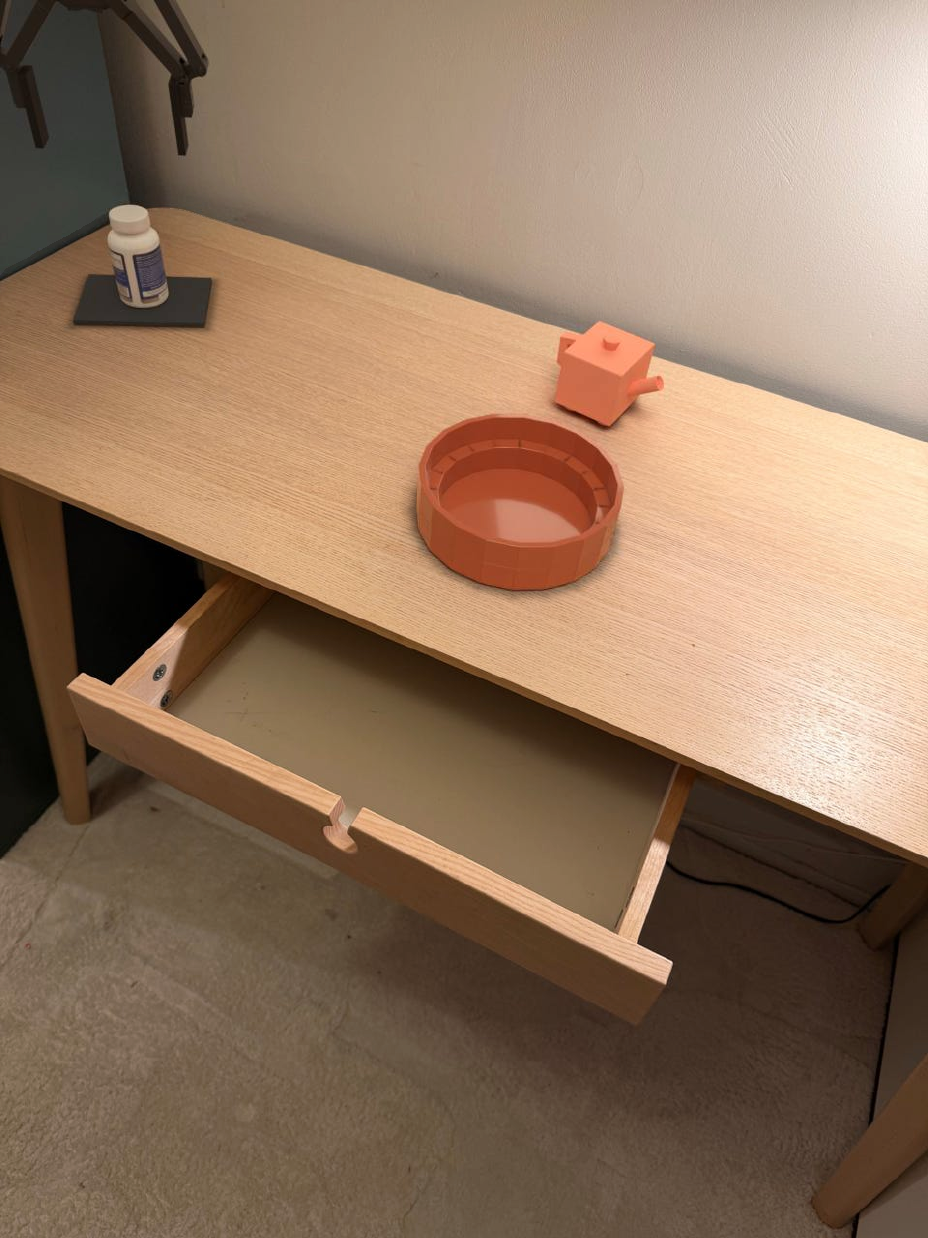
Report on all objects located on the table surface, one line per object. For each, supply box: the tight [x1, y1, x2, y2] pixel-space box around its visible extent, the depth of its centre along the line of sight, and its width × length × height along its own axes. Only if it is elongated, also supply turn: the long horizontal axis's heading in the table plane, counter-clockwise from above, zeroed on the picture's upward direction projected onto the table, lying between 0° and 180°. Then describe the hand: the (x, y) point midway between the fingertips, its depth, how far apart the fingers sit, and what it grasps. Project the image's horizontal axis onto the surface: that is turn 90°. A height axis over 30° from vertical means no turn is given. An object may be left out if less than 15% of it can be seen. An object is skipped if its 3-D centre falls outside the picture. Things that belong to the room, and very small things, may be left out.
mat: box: [72, 273, 213, 328], centre depth 104 cm, size 14×10×1 cm
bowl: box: [415, 413, 625, 591], centre depth 83 cm, size 18×18×6 cm
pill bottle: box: [107, 204, 169, 308], centre depth 100 cm, size 5×5×10 cm
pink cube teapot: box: [553, 320, 665, 427], centre depth 95 cm, size 8×12×8 cm, turn 56°
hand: (113, 146), depth 91 cm, fingers open, 13 cm apart
